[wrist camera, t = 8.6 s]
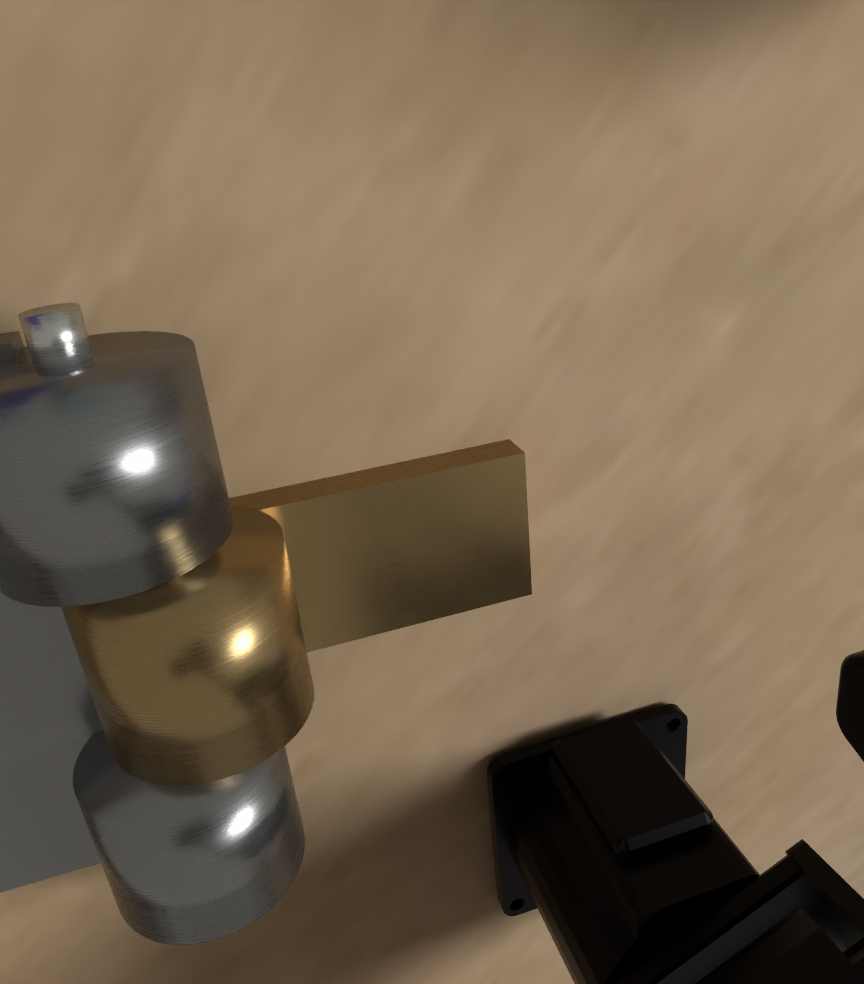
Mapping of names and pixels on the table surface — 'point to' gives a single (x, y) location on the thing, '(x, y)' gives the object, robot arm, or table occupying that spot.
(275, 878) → the fixed leaf
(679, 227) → the table surface
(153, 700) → the brass hinge knuckle
